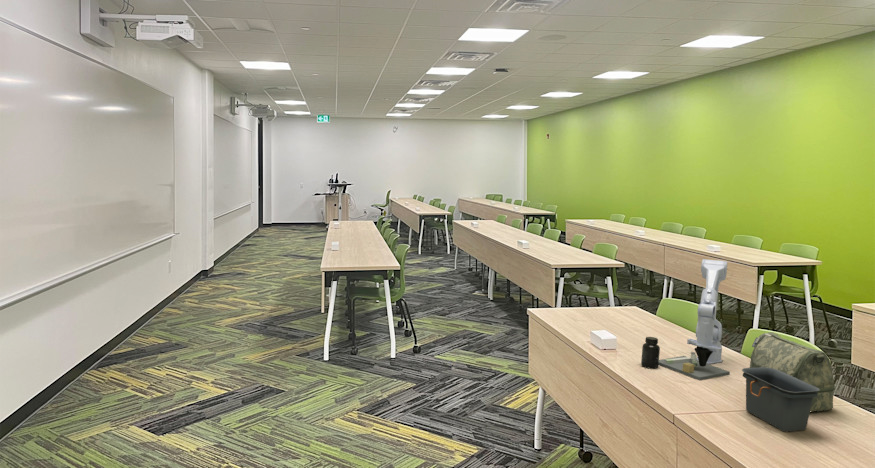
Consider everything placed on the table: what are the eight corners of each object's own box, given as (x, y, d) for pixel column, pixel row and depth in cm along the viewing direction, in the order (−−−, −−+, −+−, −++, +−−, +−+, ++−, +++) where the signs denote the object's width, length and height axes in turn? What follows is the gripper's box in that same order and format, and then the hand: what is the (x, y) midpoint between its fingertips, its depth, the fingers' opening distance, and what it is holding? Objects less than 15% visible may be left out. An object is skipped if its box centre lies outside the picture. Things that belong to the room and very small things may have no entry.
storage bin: (821, 434, 176) (825, 389, 174) (778, 437, 172) (783, 391, 171) (767, 407, 196) (770, 366, 195) (728, 409, 193) (731, 368, 191)
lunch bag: (739, 387, 215) (743, 330, 213) (781, 385, 218) (786, 330, 216) (792, 415, 190) (798, 351, 188) (839, 413, 193) (846, 350, 191)
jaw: (690, 357, 241) (690, 353, 241) (695, 358, 241) (695, 354, 240) (692, 366, 229) (692, 362, 229) (697, 367, 228) (698, 363, 228)
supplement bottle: (659, 369, 232) (662, 341, 231) (642, 368, 234) (644, 339, 233) (656, 364, 239) (658, 336, 238) (639, 362, 240) (641, 335, 239)
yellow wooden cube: (687, 369, 229) (688, 362, 229) (693, 372, 227) (694, 364, 226) (682, 370, 228) (683, 363, 228) (688, 373, 225) (689, 365, 225)
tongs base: (683, 358, 249) (684, 348, 248) (729, 374, 229) (730, 363, 229) (654, 363, 240) (655, 352, 240) (699, 380, 221) (700, 368, 221)
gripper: (683, 329, 233) (680, 361, 235) (714, 338, 221) (711, 372, 222) (694, 327, 237) (692, 359, 238) (726, 336, 224) (723, 370, 225)
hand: (702, 365), depth 230 cm, fingers closed
